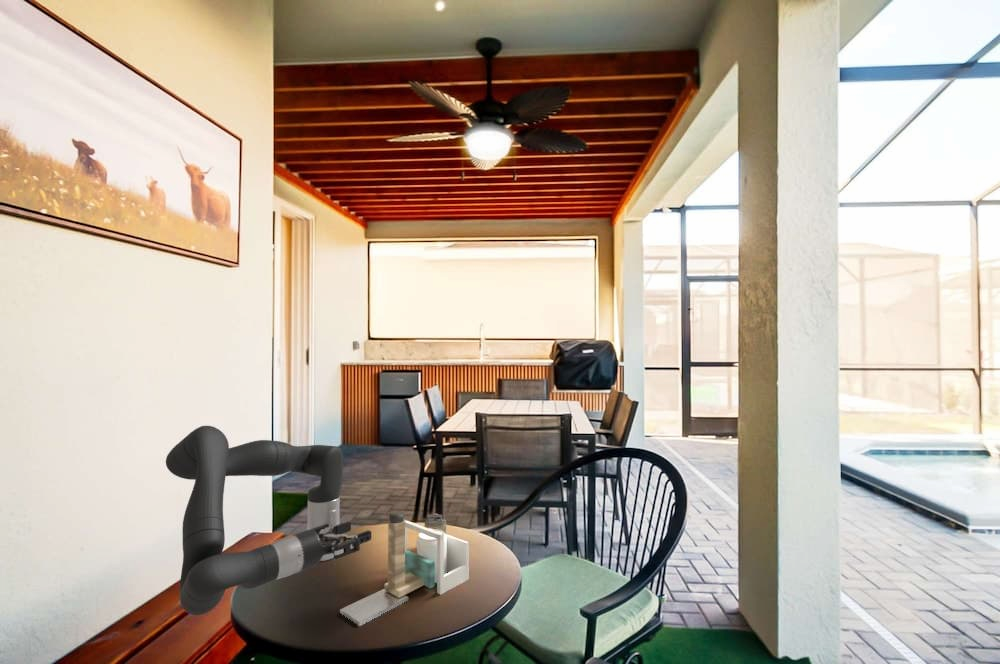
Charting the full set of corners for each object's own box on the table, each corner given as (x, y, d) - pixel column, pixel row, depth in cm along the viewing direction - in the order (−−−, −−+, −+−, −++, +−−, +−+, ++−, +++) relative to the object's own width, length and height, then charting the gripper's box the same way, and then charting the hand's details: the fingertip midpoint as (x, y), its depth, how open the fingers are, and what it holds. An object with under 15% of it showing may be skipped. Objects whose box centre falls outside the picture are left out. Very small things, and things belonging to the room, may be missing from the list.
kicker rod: (377, 587, 121) (378, 511, 121) (407, 573, 128) (407, 502, 129) (404, 601, 113) (404, 521, 114) (434, 586, 121) (434, 510, 122)
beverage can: (422, 589, 122) (423, 542, 123) (412, 576, 129) (412, 532, 130) (451, 581, 126) (451, 536, 126) (439, 569, 133) (439, 526, 134)
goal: (400, 575, 129) (400, 520, 130) (429, 562, 137) (429, 510, 138) (440, 595, 119) (440, 535, 120) (468, 579, 127) (468, 523, 128)
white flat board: (340, 613, 111) (340, 609, 111) (388, 590, 121) (388, 586, 121) (359, 626, 106) (359, 621, 106) (408, 600, 116) (408, 596, 116)
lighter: (447, 544, 150) (447, 512, 151) (446, 549, 146) (445, 517, 147) (425, 544, 150) (425, 513, 151) (423, 549, 146) (423, 517, 147)
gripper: (310, 545, 94) (377, 521, 106) (277, 527, 103) (343, 507, 116) (310, 582, 94) (377, 554, 106) (277, 562, 103) (343, 538, 115)
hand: (360, 530), depth 111 cm, fingers open, 8 cm apart
